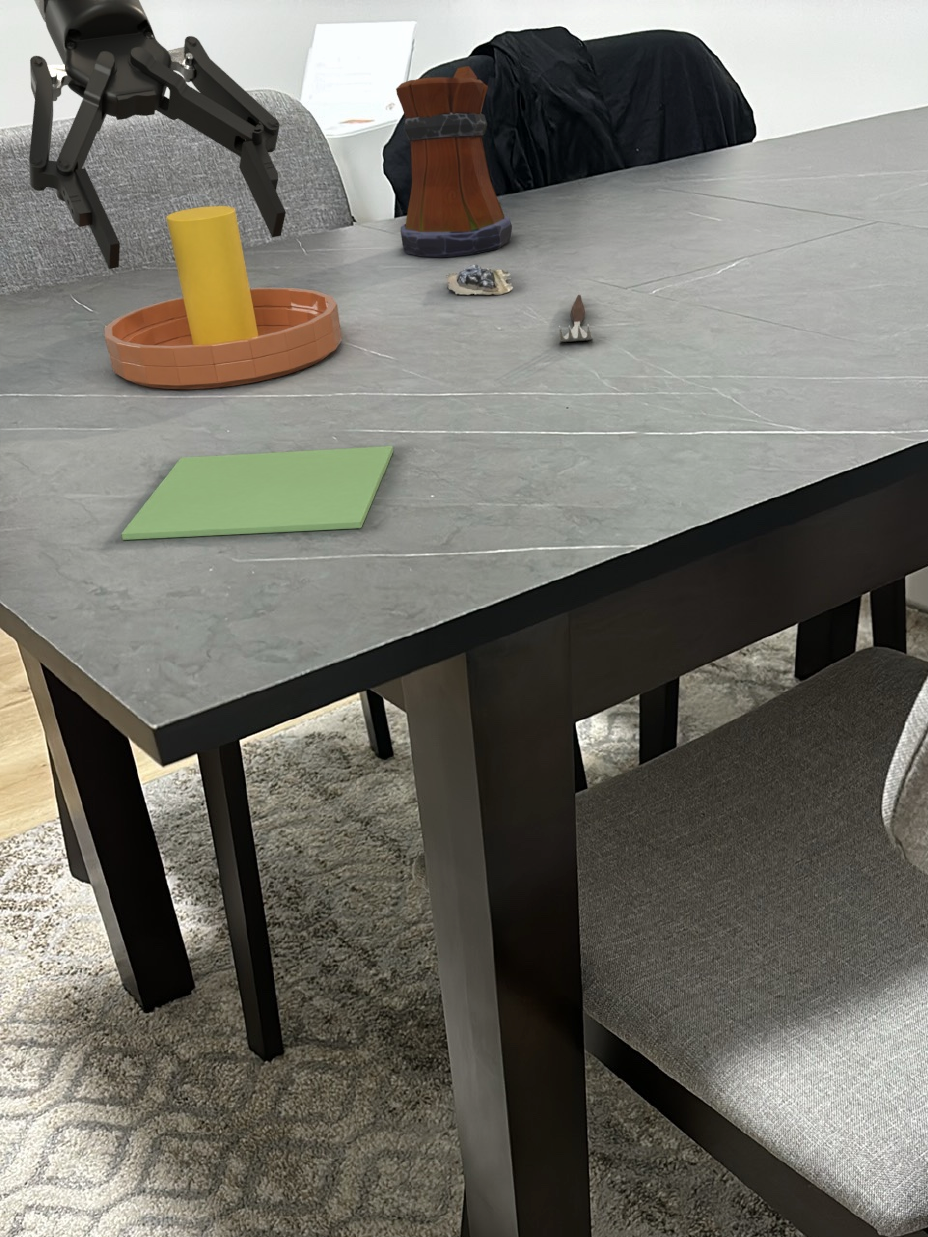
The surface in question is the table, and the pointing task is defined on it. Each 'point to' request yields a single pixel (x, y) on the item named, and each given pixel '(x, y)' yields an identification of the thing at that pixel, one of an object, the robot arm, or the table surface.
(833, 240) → the table surface
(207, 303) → the yellow cylinder
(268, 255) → the table surface
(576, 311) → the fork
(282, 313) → the pan
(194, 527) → the green board
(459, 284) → the dark rock pile
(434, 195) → the brown rook tower
